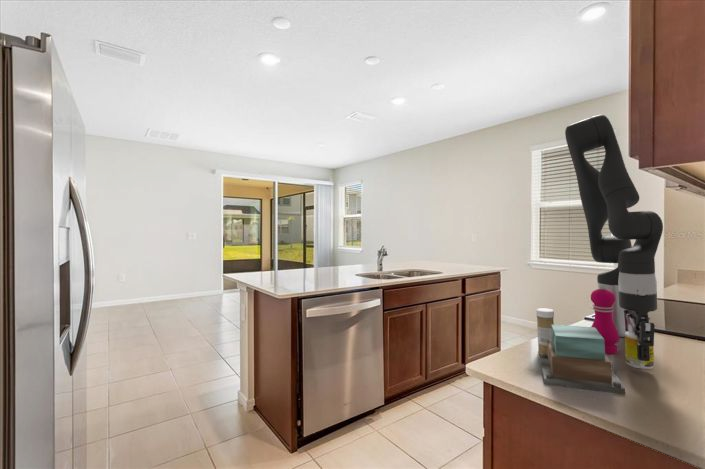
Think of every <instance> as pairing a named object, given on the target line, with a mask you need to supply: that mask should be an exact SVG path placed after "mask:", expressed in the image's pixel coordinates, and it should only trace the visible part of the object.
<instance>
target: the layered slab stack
mask: <svg viewBox="0 0 705 469" xmlns="http://www.w3.org/2000/svg"><path fill="white" fill-rule="evenodd" d="M551 328H552V341H548V356H547V355H546V354H542V355H540V354H539V363H540V368H541V372H542V378H543V382H544V384H545V385H552V386H553V385H554V386H560V387H561V386H562V387H569V388H576V389H585V390H593V391H599V392H606V393H614V394H621V395H625V394H626V388H625V386H624V385H623V383H622V382H621V381H620V379H619V377H618V375H617V373H615V371H614V370H613V368H612V361H611V360H610V358H609V357H608V355H607V354H605V341H604V338H603V337H602V336H601V334H600V333H599V332H598V331H597V329H596V328H595V327H591V326H582V325H581V326H580V325H568V324H566V325H564V324H554V325H552V324H551Z"/></svg>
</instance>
